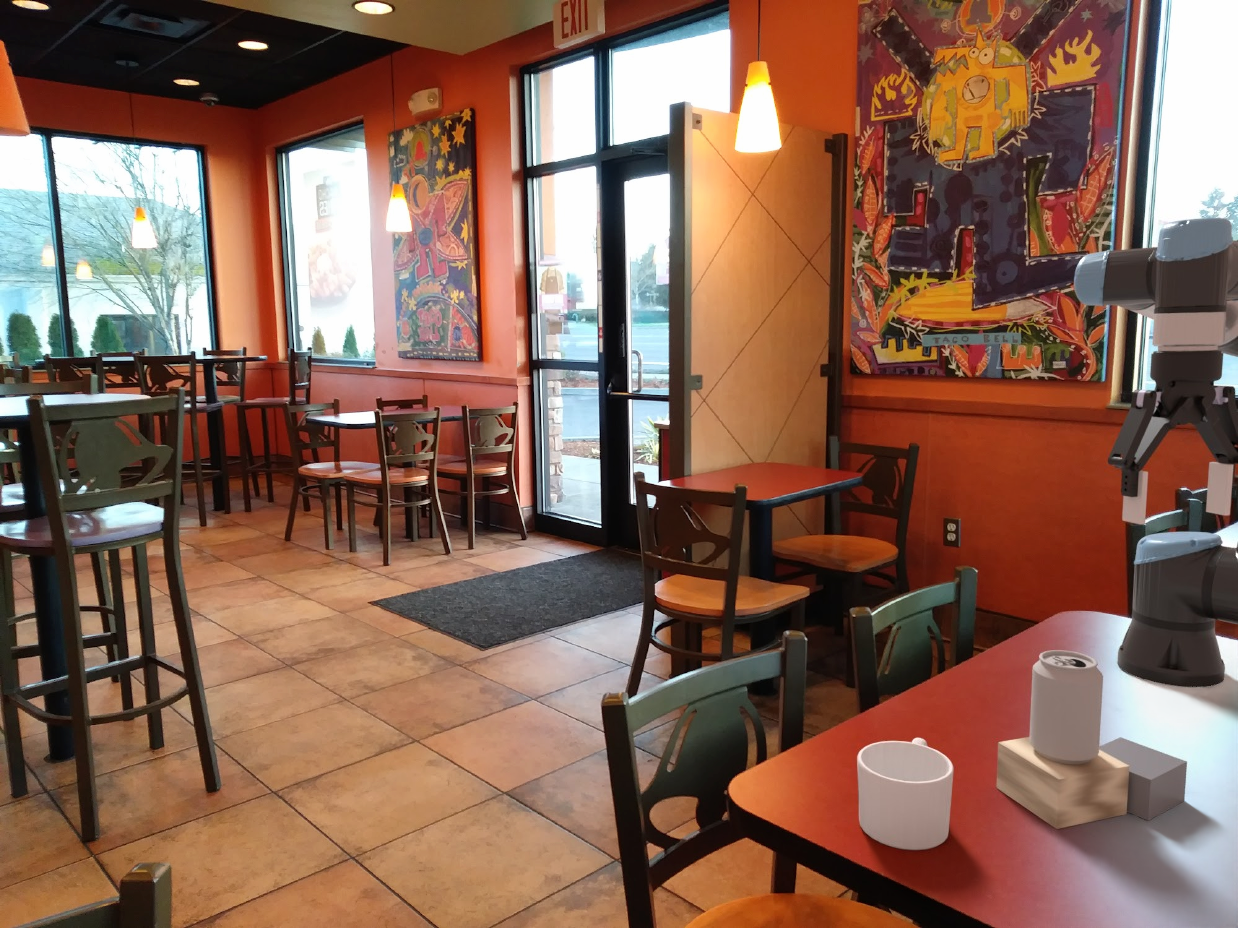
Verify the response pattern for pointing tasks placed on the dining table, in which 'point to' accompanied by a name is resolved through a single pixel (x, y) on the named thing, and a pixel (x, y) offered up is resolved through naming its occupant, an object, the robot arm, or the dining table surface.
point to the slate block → (1149, 777)
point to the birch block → (1062, 784)
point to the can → (1066, 707)
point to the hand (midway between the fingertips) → (1176, 518)
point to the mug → (904, 794)
